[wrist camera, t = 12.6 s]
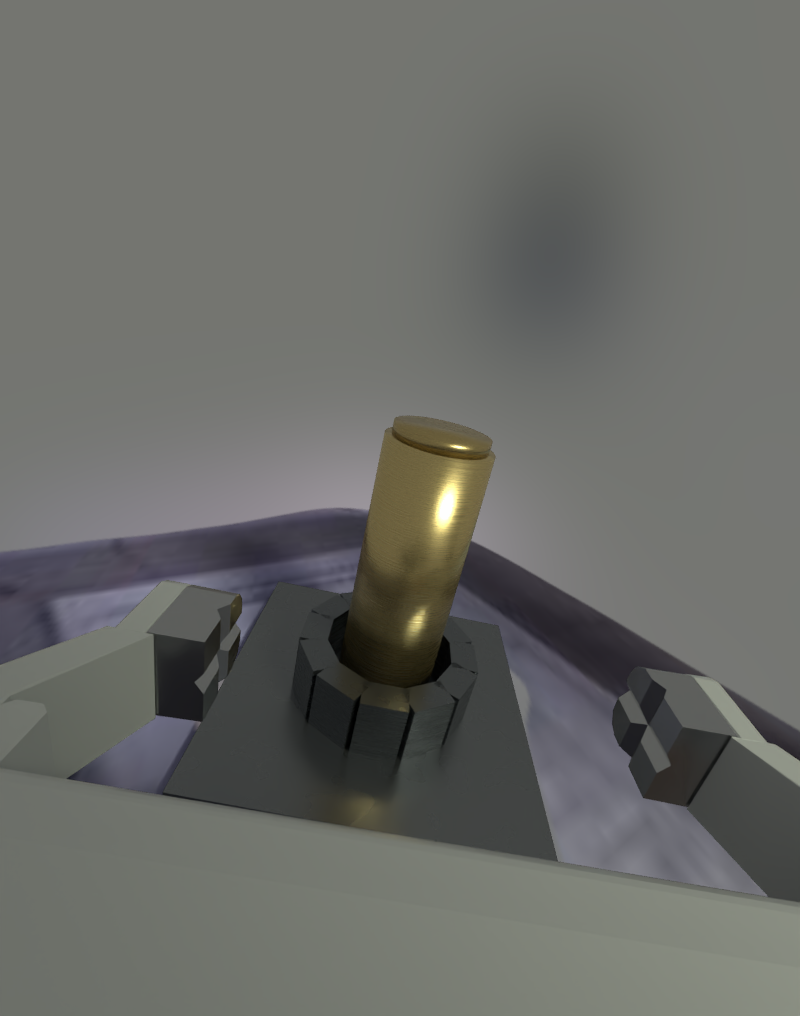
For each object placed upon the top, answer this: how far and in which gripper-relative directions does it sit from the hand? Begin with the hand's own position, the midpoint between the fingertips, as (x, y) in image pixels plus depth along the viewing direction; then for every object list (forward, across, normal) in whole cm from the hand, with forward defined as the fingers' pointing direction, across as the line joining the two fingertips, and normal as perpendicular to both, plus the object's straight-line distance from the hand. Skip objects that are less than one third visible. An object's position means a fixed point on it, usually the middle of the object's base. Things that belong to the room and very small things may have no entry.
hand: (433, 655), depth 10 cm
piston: (+12, 0, +13) cm, 18 cm away
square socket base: (+12, 0, +13) cm, 18 cm away
